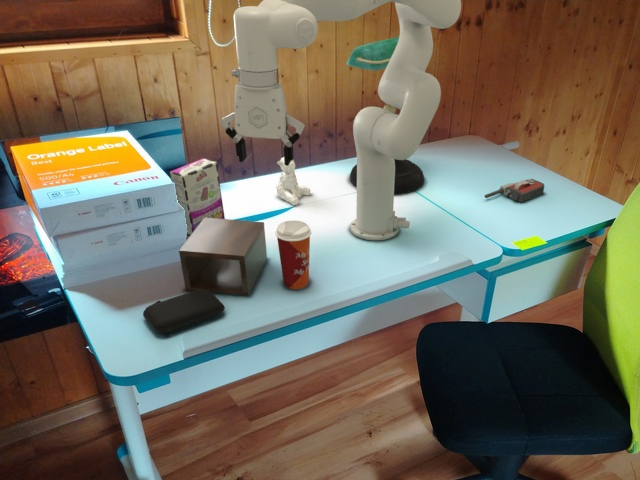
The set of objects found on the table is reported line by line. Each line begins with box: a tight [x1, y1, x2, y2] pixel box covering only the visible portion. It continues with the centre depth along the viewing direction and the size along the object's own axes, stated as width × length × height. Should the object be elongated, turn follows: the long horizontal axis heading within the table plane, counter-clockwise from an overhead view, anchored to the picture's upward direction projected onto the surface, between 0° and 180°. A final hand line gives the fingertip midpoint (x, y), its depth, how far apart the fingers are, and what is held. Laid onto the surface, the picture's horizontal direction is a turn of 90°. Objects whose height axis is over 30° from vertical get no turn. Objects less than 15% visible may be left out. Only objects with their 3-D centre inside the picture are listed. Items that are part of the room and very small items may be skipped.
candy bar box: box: [169, 157, 226, 236], centre depth 157 cm, size 11×5×16 cm, turn 148°
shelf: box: [178, 218, 268, 297], centre depth 140 cm, size 14×16×10 cm
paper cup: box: [274, 220, 312, 290], centre depth 138 cm, size 8×8×14 cm
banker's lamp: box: [346, 36, 425, 196], centre depth 181 cm, size 26×23×40 cm
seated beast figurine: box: [275, 156, 311, 206], centre depth 175 cm, size 10×9×12 cm
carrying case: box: [142, 289, 226, 336], centre depth 129 cm, size 11×3×15 cm
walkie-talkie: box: [484, 178, 545, 203], centre depth 186 cm, size 9×4×20 cm
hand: (265, 161), depth 132 cm, fingers open, 9 cm apart
